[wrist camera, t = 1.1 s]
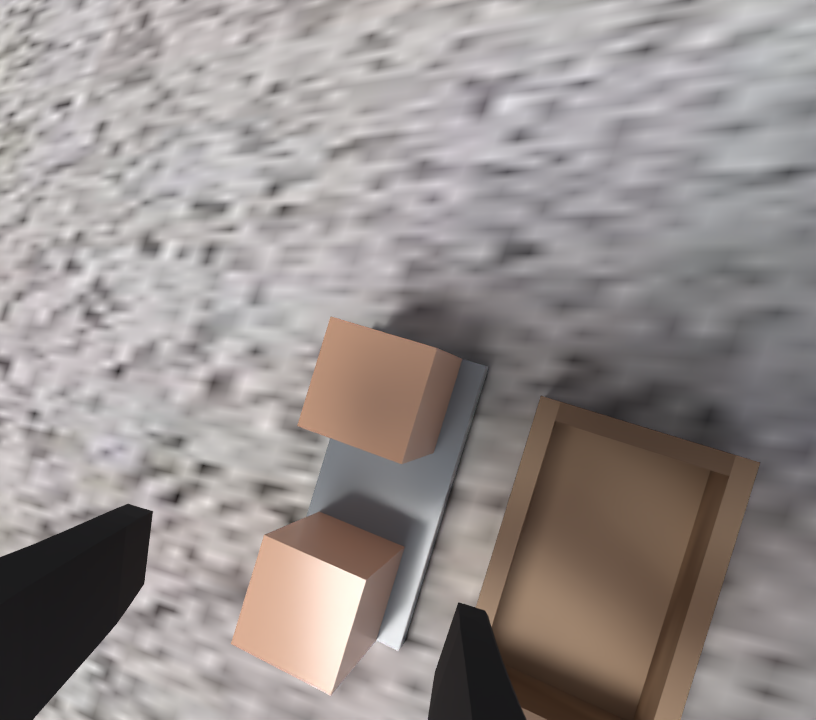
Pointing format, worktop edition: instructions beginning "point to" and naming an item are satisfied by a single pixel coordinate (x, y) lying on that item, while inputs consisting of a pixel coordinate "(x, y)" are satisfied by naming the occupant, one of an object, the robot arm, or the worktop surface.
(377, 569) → the peach cube
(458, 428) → the slate board
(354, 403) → the tan cube
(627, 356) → the worktop surface
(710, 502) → the walnut bin
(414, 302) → the worktop surface
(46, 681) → the robot arm
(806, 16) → the worktop surface
